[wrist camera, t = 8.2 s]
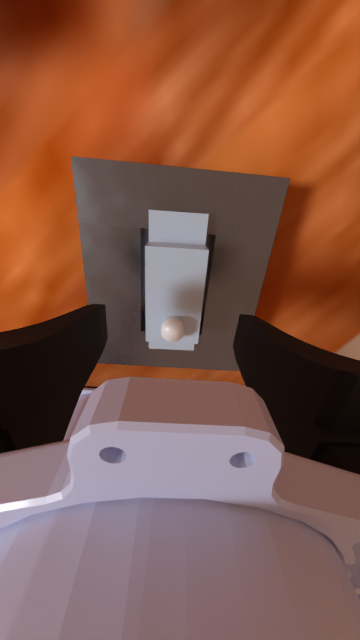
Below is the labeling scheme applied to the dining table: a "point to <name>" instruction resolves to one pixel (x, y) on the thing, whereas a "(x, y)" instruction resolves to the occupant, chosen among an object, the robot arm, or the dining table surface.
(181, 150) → the dining table surface
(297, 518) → the robot arm
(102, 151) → the dining table surface
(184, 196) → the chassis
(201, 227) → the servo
